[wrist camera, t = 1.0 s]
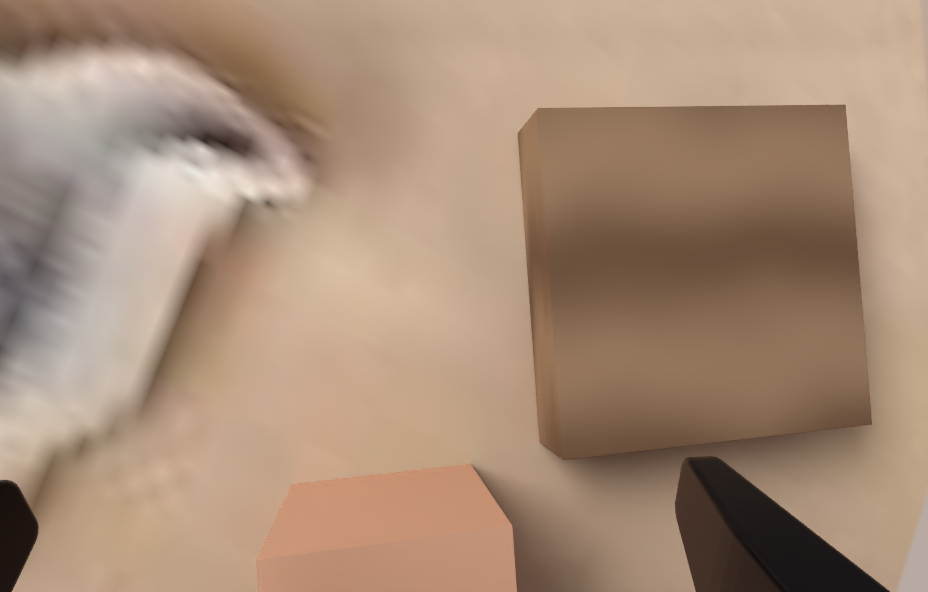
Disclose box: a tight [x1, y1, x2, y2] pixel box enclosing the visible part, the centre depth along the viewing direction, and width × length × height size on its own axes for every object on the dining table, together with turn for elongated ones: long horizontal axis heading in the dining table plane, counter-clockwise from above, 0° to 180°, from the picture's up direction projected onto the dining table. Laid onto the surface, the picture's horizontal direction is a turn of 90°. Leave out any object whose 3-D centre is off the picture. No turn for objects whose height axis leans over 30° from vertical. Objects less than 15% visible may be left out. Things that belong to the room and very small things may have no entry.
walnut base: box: [518, 105, 872, 460], centre depth 20 cm, size 11×11×2 cm
